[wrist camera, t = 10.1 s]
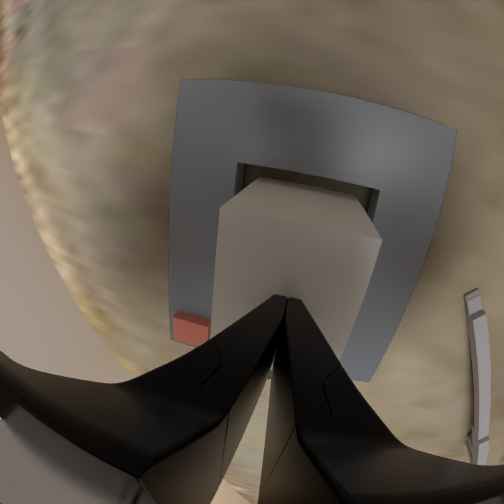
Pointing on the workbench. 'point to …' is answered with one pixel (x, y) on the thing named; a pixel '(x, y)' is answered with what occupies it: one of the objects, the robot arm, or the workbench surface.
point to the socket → (308, 162)
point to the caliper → (479, 378)
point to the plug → (294, 255)
